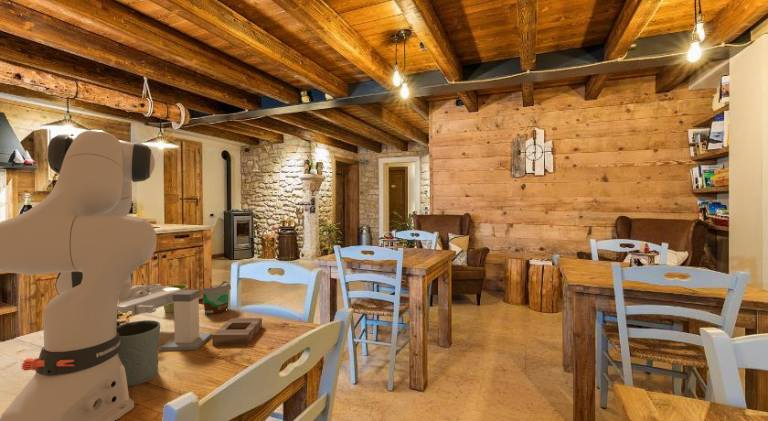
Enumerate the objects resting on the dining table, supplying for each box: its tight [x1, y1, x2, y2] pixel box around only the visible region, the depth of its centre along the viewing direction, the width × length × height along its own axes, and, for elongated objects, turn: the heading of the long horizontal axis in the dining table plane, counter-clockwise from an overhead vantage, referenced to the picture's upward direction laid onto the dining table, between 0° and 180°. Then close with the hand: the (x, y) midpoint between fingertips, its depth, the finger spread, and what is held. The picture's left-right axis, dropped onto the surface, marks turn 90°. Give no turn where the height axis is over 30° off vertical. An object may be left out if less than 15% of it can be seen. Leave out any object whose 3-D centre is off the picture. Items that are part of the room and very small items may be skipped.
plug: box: [173, 289, 200, 343], centre depth 105 cm, size 5×5×14 cm
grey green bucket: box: [117, 319, 161, 387], centre depth 85 cm, size 10×10×12 cm
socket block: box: [211, 317, 263, 346], centre depth 111 cm, size 14×10×3 cm
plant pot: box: [163, 284, 189, 314], centre depth 135 cm, size 9×9×9 cm
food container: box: [201, 280, 232, 316], centre depth 134 cm, size 12×6×10 cm, turn 168°
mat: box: [159, 332, 213, 352], centre depth 105 cm, size 10×10×1 cm
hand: (168, 304), depth 107 cm, fingers open, 8 cm apart
